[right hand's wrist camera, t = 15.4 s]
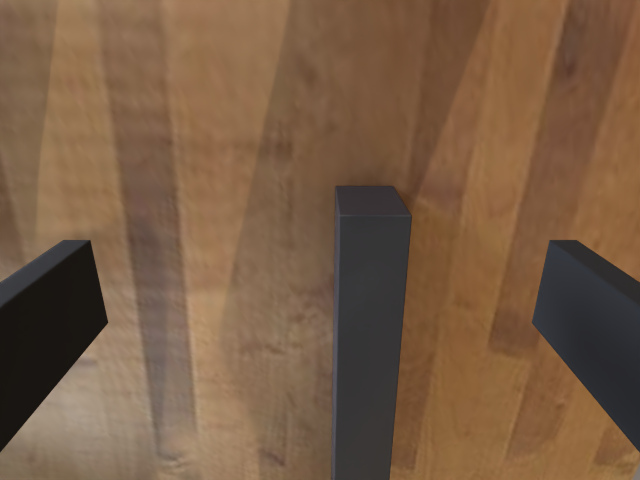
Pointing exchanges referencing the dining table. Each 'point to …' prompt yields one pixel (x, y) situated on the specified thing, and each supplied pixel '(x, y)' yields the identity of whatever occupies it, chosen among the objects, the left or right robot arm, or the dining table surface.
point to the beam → (367, 327)
